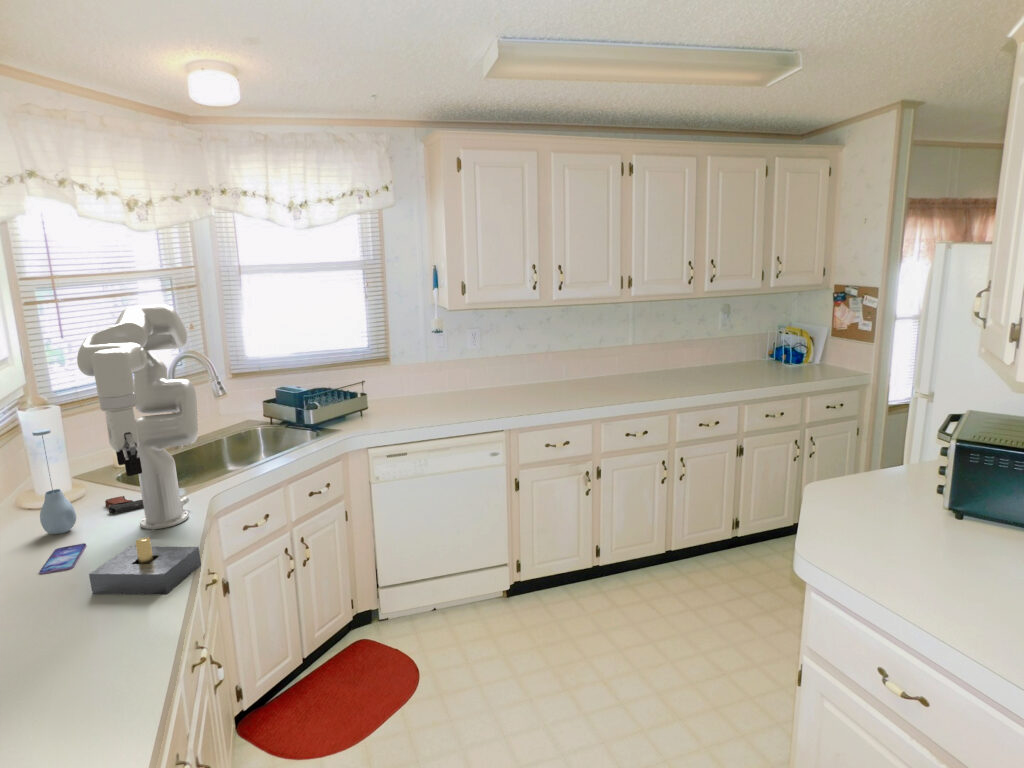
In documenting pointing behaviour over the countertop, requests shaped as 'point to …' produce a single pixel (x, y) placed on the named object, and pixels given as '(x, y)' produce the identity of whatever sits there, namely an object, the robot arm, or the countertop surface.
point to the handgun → (122, 504)
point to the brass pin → (144, 550)
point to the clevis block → (145, 571)
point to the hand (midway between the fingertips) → (130, 468)
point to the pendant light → (55, 506)
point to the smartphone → (63, 558)
